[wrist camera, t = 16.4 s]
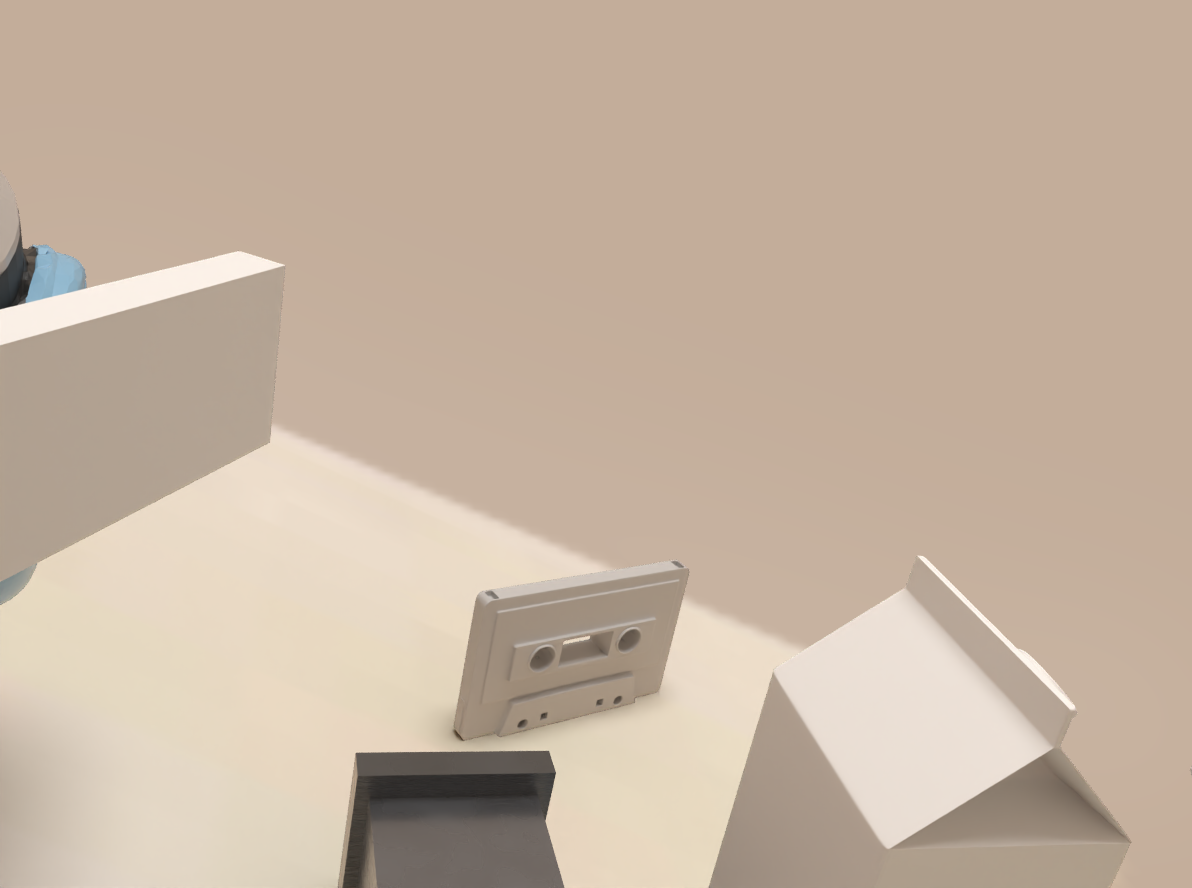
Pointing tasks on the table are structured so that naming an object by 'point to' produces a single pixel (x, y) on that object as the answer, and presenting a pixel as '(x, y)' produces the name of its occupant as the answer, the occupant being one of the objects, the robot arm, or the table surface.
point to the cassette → (567, 647)
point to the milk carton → (916, 762)
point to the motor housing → (450, 821)
